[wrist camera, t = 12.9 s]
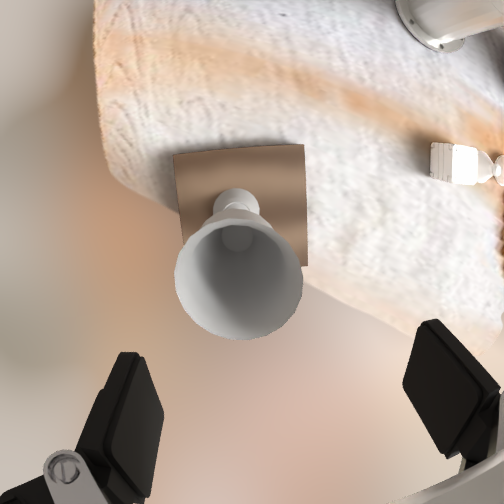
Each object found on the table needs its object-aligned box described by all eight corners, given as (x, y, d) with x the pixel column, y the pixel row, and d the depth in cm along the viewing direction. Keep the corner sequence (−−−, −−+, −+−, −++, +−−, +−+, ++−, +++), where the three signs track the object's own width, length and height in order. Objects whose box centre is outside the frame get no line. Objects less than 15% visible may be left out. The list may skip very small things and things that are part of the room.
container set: (428, 178, 36) (451, 184, 31) (429, 141, 34) (453, 142, 29) (508, 186, 37) (530, 192, 32) (510, 156, 35) (532, 161, 30)
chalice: (193, 194, 32) (149, 252, 15) (250, 167, 31) (271, 195, 15) (222, 252, 35) (214, 355, 18) (278, 227, 34) (320, 312, 17)
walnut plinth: (177, 154, 33) (172, 154, 30) (298, 144, 34) (304, 144, 31) (191, 266, 38) (188, 276, 35) (302, 256, 39) (307, 265, 36)
